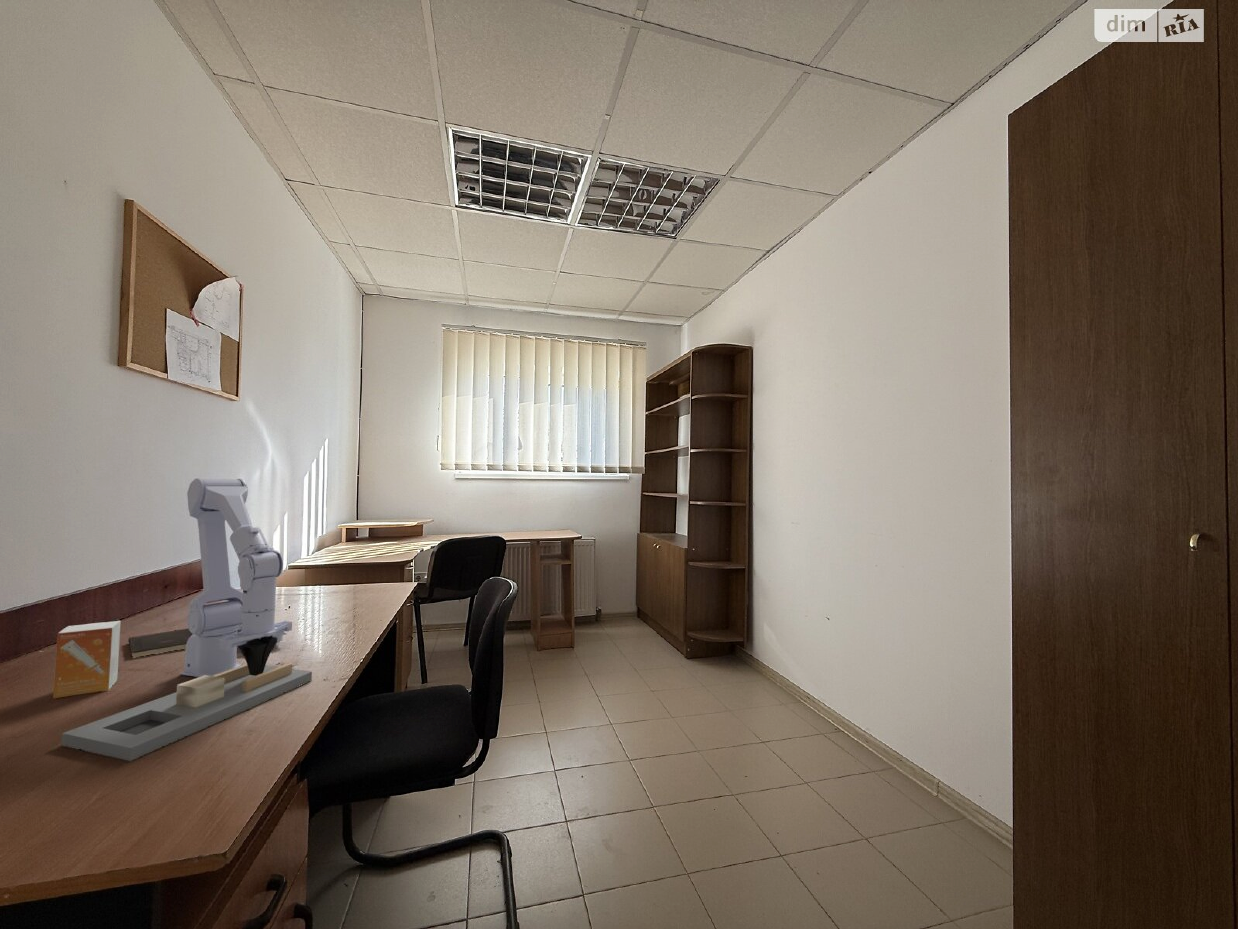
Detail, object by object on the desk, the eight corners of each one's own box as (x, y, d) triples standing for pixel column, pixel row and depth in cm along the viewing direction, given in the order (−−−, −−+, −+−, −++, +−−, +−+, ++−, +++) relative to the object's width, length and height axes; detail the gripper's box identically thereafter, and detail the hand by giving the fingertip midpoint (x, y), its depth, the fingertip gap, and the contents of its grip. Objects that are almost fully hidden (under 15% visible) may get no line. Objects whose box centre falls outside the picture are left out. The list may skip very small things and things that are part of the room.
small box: (52, 699, 99) (56, 633, 99) (64, 688, 104) (67, 625, 105) (109, 690, 103) (112, 627, 104) (118, 680, 109) (121, 619, 109)
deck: (61, 745, 82) (62, 720, 82) (255, 672, 114) (255, 655, 114) (130, 761, 78) (131, 735, 78) (311, 681, 110) (312, 662, 110)
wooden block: (176, 704, 93) (176, 685, 93) (204, 693, 98) (205, 675, 98) (196, 707, 92) (196, 688, 92) (223, 696, 97) (224, 678, 97)
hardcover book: (247, 640, 138) (247, 632, 138) (131, 661, 121) (131, 652, 122) (236, 628, 149) (236, 620, 149) (128, 645, 133) (128, 637, 133)
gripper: (239, 620, 98) (236, 690, 98) (303, 603, 112) (301, 664, 112) (212, 616, 100) (209, 685, 100) (279, 600, 114) (276, 661, 114)
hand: (256, 674), depth 106 cm, fingers closed
